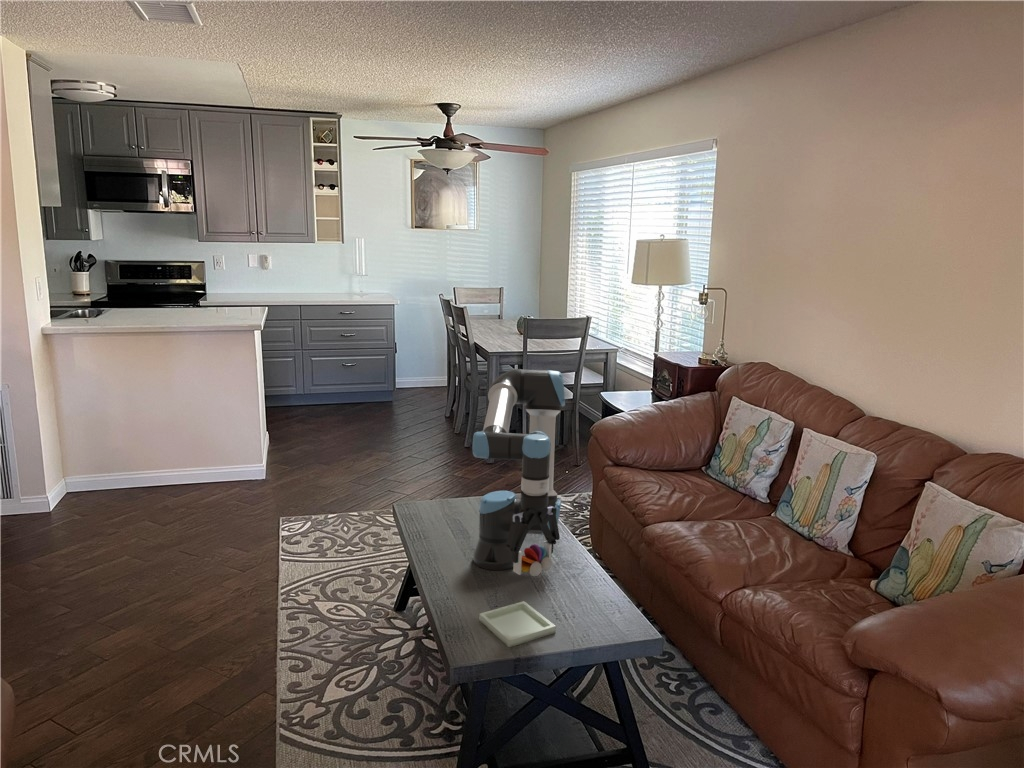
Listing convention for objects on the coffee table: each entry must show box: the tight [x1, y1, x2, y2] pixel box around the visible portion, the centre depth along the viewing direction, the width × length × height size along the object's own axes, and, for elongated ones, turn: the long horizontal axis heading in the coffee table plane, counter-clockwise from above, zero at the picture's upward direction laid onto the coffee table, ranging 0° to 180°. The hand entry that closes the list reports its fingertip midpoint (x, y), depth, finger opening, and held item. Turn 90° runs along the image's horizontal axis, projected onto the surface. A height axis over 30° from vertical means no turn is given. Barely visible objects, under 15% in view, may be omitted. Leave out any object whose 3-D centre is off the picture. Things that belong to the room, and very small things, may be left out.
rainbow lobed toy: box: [521, 544, 553, 577], centre depth 201 cm, size 8×10×7 cm
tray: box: [478, 600, 557, 648], centre depth 202 cm, size 16×15×2 cm
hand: (532, 568), depth 202 cm, fingers closed on rainbow lobed toy, 9 cm apart
